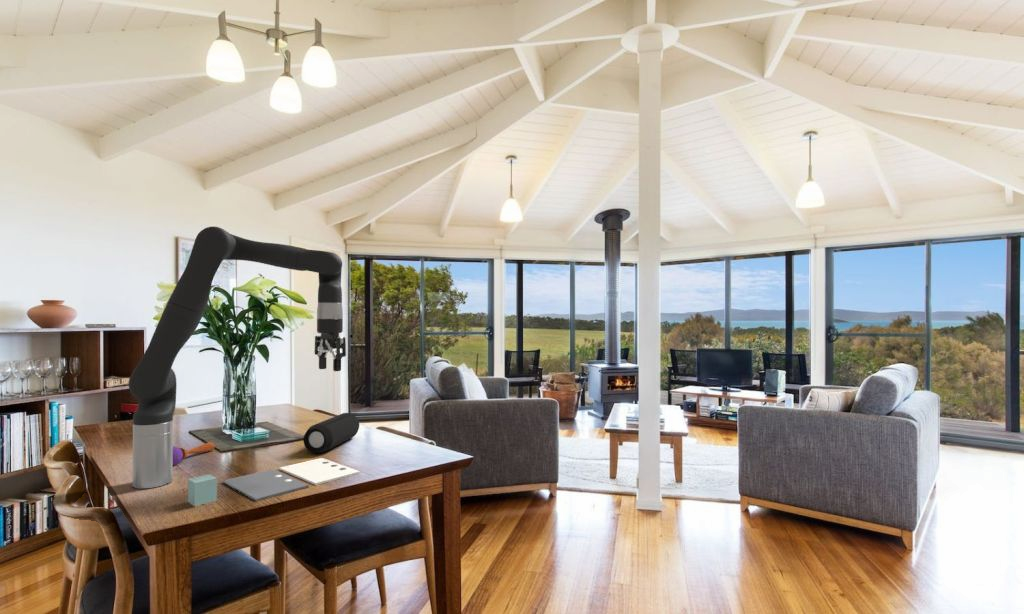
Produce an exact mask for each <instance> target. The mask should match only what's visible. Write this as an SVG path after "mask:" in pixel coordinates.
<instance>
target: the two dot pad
mask: <svg viewBox="0 0 1024 614" xmlns="http://www.w3.org/2000/svg"><path fill="white" fill-rule="evenodd" d="M222 482H223V483H222ZM221 483H222V484H224V483H225V484H227V485H229V486H230V487H229V486H228V487H229V488H231V487H232V488H231V489H233V488H234V489H233V490H235V489H236V490H238V491H239V492H238V491H237V492H238V493H240V492H241V493H240V494H242V493H243V495H244V494H245V495H244V496H245V497H247V496H248V497H247V498H249V499H251V500H253V501H255V502H260V501H263V500H266V499H269V498H270V499H271V498H273V497H278V496H281V495H285V494H288V493H292V492H296V491H300V490H304V489H308V488H309V487H310V485H309V484H307V483H306V482H303V481H301V480H298V479H295V478H293V476H289V475H286V474H285V473H282V472H280V471H278V470H275V469H273V468H271V469H268V470H263V471H258V472H254V473H250V474H246V475H240V476H236V477H232V478H229V479H225V480H222V481H221ZM225 484H224V485H225ZM227 485H226V486H227ZM236 490H235V491H236Z"/></svg>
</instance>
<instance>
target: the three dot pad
mask: <svg viewBox="0 0 1024 614" xmlns="http://www.w3.org/2000/svg"><path fill="white" fill-rule="evenodd" d="M278 470H279V471H281V472H284V473H286V474H288V475H291V476H292V477H295V478H298V479H300V480H302V481H305V482H306V483H309V484H312V485H314V486H319V485H321V484H325V483H326V484H327V483H329V482H333V481H337V480H340V479H345V478H348V477H351V476H356V475H360V474H361V471H359V470H357V469H354V468H352V467H349V466H346V465H344V464H340V463H338V462H334V461H332V460H329V459H327V458H323V457H319V458H315V459H311V460H307V461H303V462H299V463H298V462H297V463H294V464H289V465H283V466H280V467H278Z"/></svg>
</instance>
